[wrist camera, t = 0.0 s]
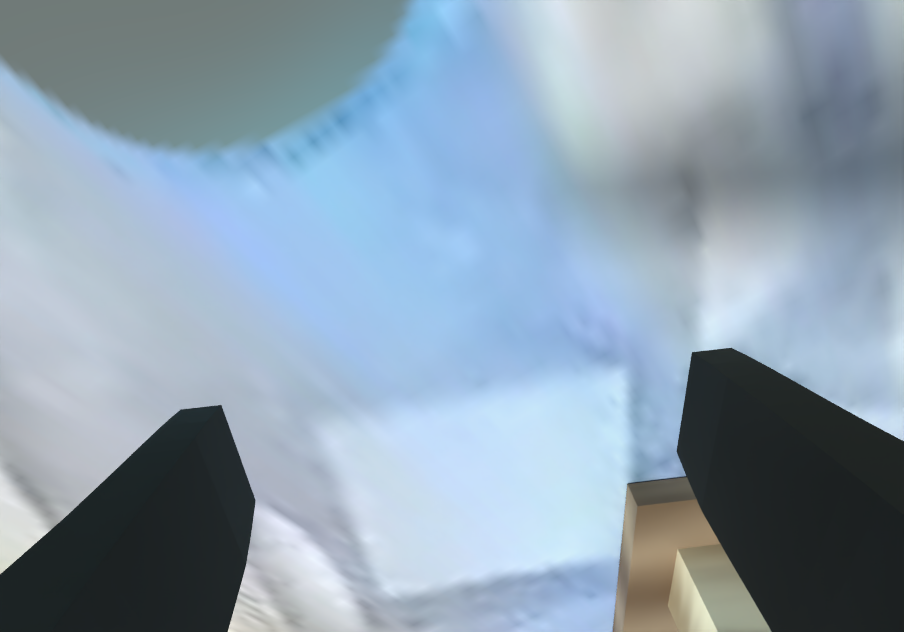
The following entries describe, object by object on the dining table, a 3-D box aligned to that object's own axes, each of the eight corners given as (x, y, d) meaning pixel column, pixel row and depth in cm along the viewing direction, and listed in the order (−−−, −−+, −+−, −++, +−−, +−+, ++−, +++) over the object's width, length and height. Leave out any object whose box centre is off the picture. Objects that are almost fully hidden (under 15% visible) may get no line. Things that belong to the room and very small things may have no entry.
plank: (1016, 595, 31) (1037, 616, 30) (611, 646, 31) (618, 670, 30) (1130, 424, 25) (1161, 443, 24) (627, 483, 25) (637, 506, 24)
